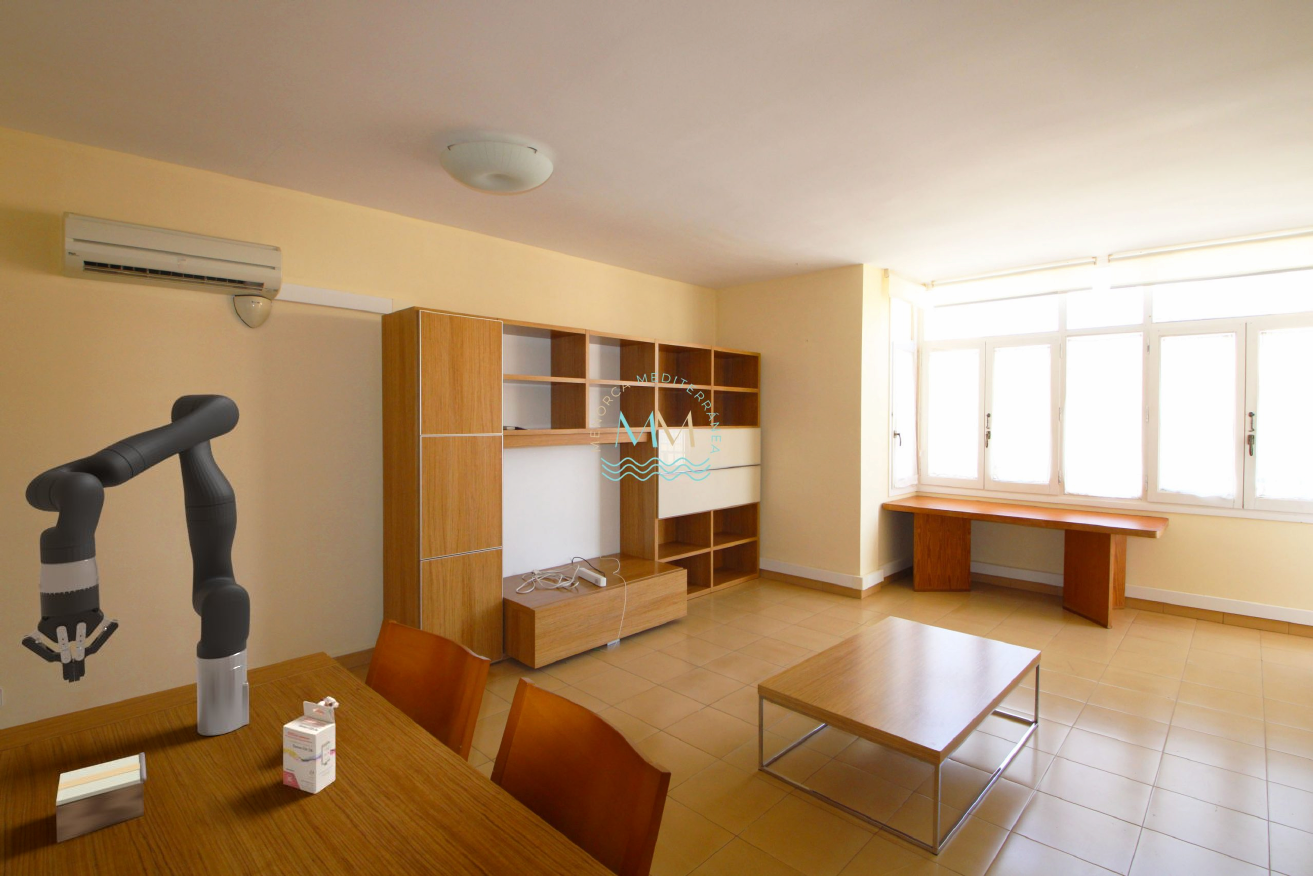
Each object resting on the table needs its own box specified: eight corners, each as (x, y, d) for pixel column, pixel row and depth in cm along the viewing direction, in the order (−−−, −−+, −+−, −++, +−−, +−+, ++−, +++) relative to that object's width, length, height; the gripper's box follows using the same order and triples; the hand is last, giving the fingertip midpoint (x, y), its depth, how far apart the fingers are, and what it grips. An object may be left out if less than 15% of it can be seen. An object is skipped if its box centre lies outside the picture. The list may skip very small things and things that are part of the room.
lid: (144, 756, 116) (144, 751, 116) (146, 781, 108) (146, 776, 108) (60, 778, 108) (60, 772, 108) (56, 805, 101) (56, 800, 101)
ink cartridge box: (281, 785, 118) (280, 710, 117) (303, 771, 122) (303, 699, 122) (315, 795, 115) (314, 718, 114) (336, 780, 120) (336, 706, 119)
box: (142, 788, 116) (141, 757, 116) (143, 815, 108) (143, 782, 108) (61, 812, 109) (60, 779, 108) (57, 843, 101) (56, 807, 101)
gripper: (119, 573, 115) (122, 663, 116) (17, 587, 106) (22, 684, 107) (120, 582, 109) (124, 676, 110) (13, 597, 100) (18, 700, 101)
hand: (74, 680), depth 109 cm, fingers closed
